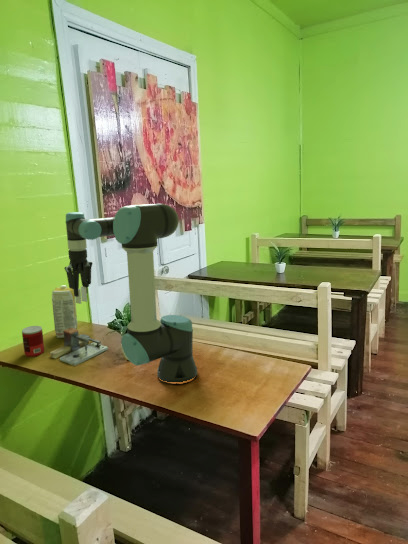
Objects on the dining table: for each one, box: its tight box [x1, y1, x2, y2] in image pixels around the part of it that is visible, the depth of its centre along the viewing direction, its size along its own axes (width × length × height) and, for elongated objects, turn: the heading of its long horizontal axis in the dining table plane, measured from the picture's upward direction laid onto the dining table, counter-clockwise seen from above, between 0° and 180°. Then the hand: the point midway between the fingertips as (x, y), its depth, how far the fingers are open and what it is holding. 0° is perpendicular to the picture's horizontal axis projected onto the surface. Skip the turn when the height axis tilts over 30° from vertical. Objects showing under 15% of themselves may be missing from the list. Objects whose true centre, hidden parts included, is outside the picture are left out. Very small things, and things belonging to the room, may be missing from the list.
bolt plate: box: [59, 342, 109, 367], centre depth 169 cm, size 9×18×1 cm, turn 147°
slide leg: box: [63, 328, 90, 352], centre depth 171 cm, size 13×4×8 cm, turn 57°
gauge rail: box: [49, 333, 102, 359], centre depth 171 cm, size 13×18×4 cm
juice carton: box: [51, 284, 78, 339], centre depth 186 cm, size 9×8×24 cm
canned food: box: [21, 325, 45, 358], centre depth 169 cm, size 8×8×11 cm
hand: (81, 302), depth 176 cm, fingers open, 3 cm apart
